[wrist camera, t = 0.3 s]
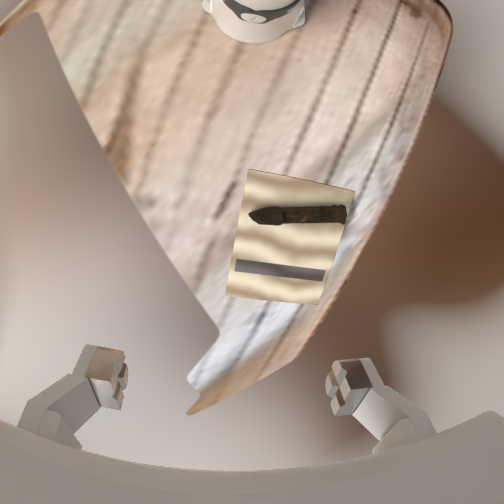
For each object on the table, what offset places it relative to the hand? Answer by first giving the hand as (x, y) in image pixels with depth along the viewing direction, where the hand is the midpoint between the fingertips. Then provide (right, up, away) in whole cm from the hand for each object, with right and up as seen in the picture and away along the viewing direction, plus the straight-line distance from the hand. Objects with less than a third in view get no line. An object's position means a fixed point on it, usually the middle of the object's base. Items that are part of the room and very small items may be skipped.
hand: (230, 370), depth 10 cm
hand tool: (+10, +12, +47) cm, 49 cm away
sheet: (+8, +6, +50) cm, 51 cm away
